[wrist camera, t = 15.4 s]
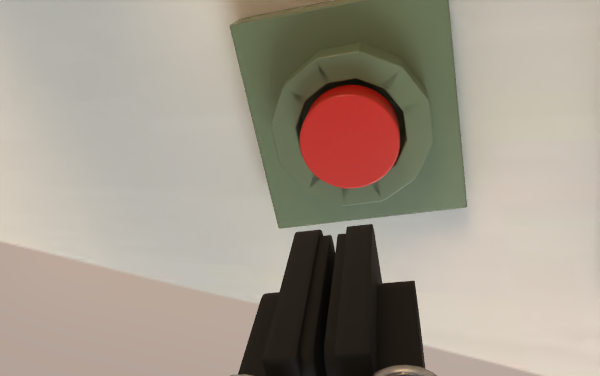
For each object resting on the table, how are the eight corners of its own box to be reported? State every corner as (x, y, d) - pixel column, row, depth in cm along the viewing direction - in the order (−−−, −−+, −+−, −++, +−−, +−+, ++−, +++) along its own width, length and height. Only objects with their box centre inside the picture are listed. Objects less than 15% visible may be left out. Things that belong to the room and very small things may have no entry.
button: (295, 92, 25) (289, 103, 24) (392, 76, 25) (393, 86, 23) (313, 179, 27) (309, 194, 26) (404, 167, 26) (406, 182, 25)
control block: (239, 19, 28) (217, 32, 24) (442, -21, 26) (451, -13, 22) (284, 212, 32) (271, 247, 29) (462, 191, 30) (472, 226, 27)
